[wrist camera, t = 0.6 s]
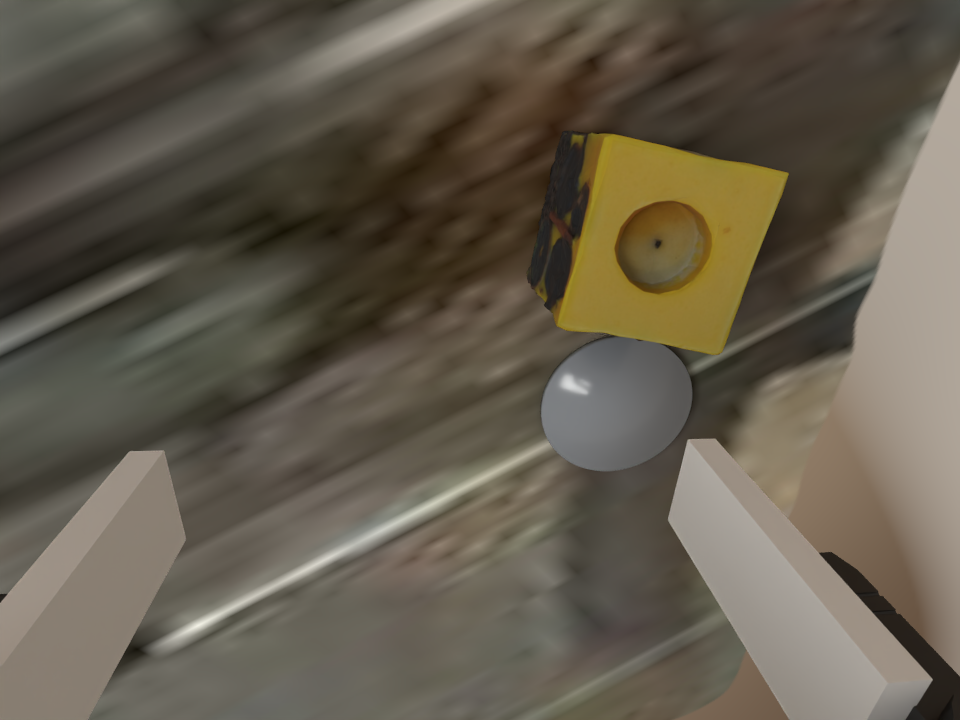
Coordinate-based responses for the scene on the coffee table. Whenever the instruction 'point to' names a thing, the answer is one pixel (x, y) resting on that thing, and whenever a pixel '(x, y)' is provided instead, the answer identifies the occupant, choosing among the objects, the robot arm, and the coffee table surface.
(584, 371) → the coaster
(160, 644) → the coffee table surface
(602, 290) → the candle
